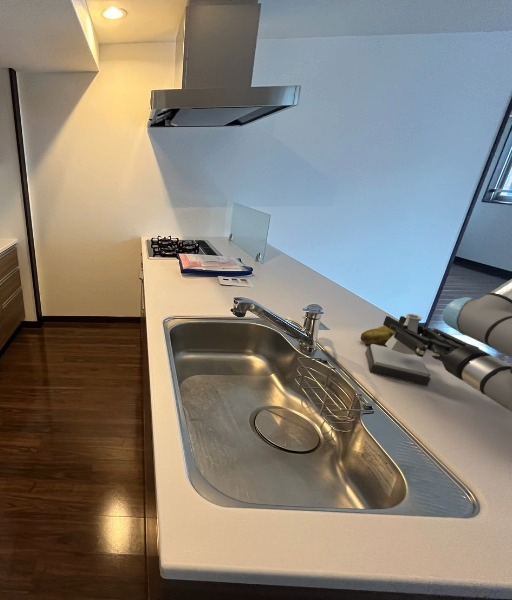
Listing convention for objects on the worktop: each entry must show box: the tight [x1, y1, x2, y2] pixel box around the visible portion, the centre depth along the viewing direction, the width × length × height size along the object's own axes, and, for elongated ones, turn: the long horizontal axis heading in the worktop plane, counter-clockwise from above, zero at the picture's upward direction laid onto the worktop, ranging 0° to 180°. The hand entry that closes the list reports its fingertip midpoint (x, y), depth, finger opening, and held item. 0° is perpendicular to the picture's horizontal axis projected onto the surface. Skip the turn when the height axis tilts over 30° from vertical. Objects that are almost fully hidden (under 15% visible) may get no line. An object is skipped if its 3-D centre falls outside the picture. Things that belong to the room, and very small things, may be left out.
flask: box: [384, 313, 423, 355], centre depth 86 cm, size 7×7×10 cm
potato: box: [360, 325, 395, 346], centre depth 100 cm, size 8×13×8 cm, turn 62°
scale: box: [365, 344, 432, 387], centre depth 90 cm, size 13×12×4 cm
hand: (393, 320), depth 91 cm, fingers closed on flask, 3 cm apart
